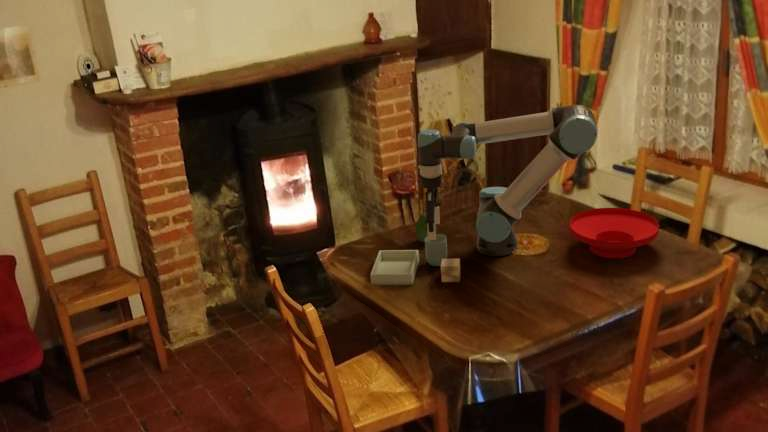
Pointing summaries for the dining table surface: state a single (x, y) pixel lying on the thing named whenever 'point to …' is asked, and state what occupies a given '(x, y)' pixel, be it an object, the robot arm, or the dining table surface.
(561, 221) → the dining table surface
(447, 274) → the beech block
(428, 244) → the cup
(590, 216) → the bowl
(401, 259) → the tray
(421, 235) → the avocado
